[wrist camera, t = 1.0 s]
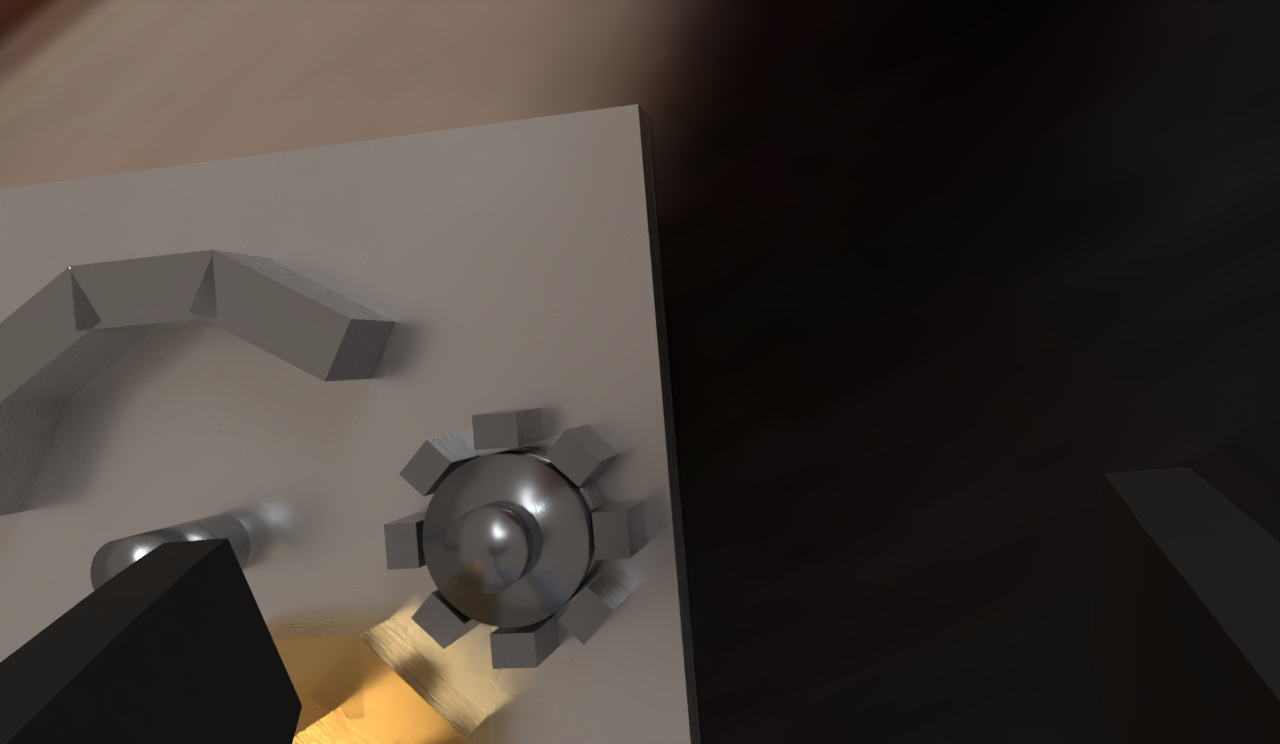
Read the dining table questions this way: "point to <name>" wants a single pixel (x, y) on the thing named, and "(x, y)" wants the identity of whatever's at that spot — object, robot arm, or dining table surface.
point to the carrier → (369, 405)
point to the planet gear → (372, 688)
